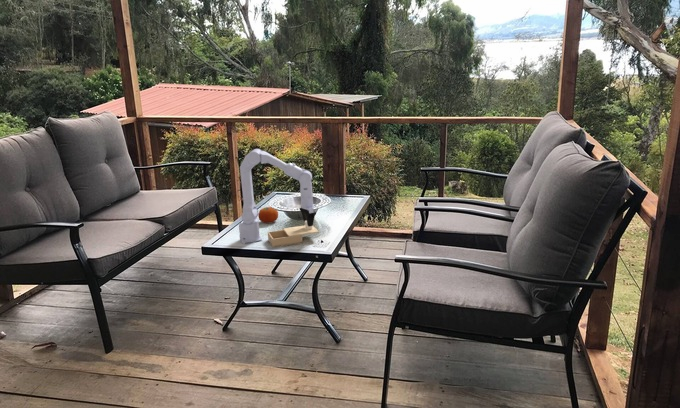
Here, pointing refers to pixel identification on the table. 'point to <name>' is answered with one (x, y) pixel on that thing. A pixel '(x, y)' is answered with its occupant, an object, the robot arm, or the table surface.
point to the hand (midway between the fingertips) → (308, 223)
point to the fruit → (268, 215)
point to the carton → (283, 239)
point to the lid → (300, 230)
